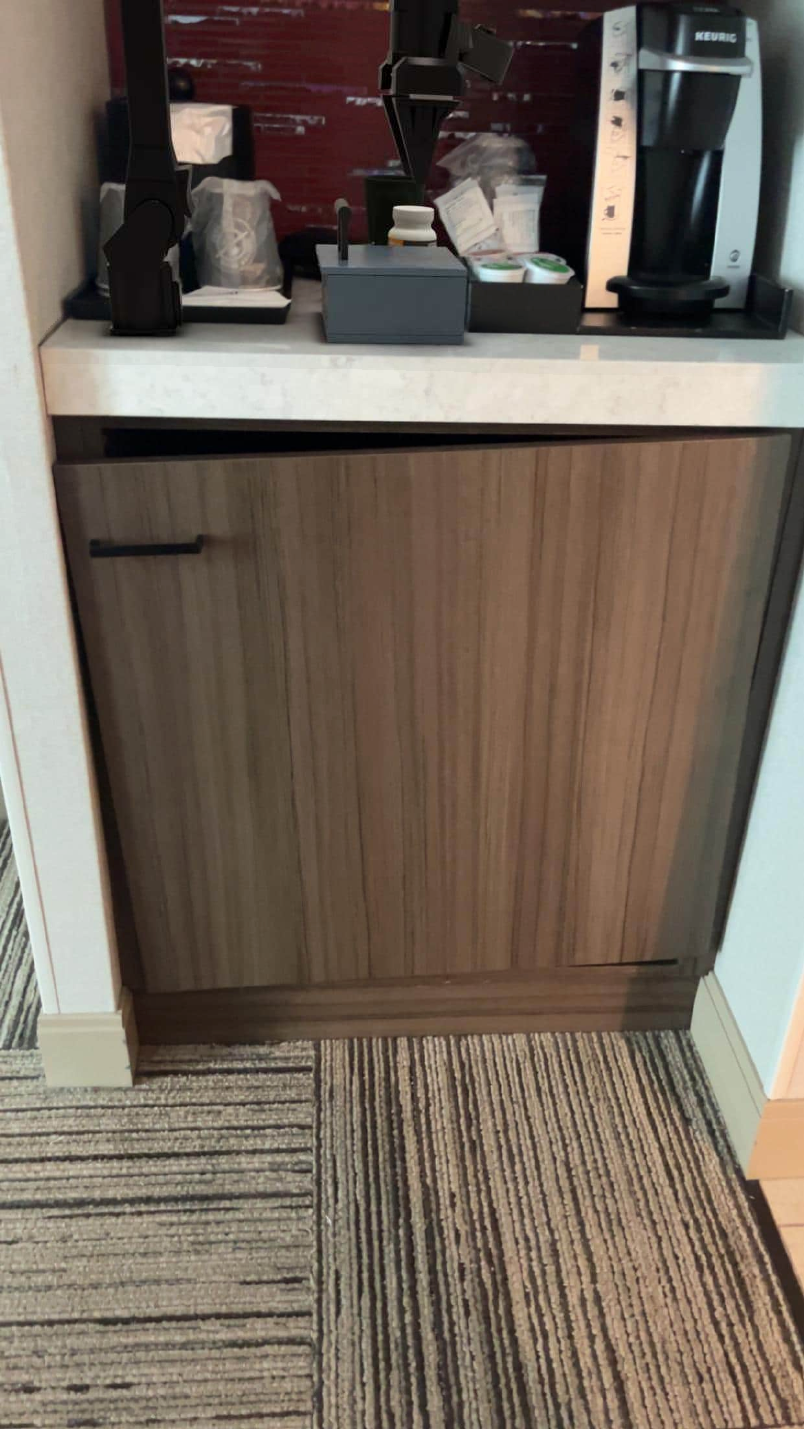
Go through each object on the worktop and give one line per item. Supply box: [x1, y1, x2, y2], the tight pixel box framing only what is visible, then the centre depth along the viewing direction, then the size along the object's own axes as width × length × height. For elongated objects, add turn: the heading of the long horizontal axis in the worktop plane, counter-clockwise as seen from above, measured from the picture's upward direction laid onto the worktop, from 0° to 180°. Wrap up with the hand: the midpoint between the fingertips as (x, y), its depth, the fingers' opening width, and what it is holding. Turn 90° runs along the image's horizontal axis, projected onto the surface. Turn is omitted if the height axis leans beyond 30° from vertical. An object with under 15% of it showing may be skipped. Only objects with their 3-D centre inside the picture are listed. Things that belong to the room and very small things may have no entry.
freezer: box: [321, 274, 468, 345], centre depth 111 cm, size 14×15×6 cm
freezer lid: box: [315, 198, 468, 277], centre depth 107 cm, size 14×15×6 cm
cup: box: [363, 174, 427, 246], centre depth 133 cm, size 8×8×12 cm
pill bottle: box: [388, 206, 438, 247], centre depth 124 cm, size 6×6×10 cm
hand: (414, 179), depth 103 cm, fingers open, 9 cm apart
